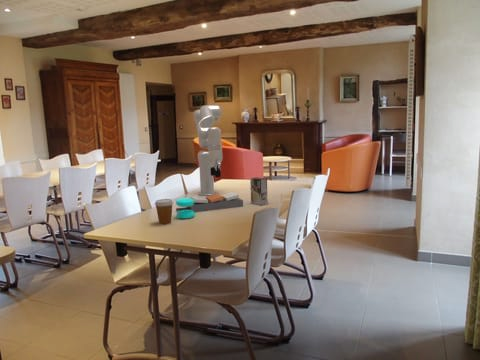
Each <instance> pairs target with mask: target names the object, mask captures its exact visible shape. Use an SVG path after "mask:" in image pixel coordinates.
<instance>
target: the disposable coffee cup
mask: <svg viewBox="0 0 480 360" xmlns="http://www.w3.org/2000/svg"><path fill="white" fill-rule="evenodd" d="M173 204H174V201H173V200H172V199H169V198H162V199H157V200H155V202H154V205H155V208H156V213H157V218H158V224H159V223H160V224H159V225H169V224H172V216H173V215H172V214H173V213H172V212H173Z"/></svg>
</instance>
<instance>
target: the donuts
mask: <svg viewBox="0 0 480 360" xmlns="http://www.w3.org/2000/svg"><path fill="white" fill-rule="evenodd" d="M175 204H176V205H177V206H178V207H179V208H184V207H188V206H191V205H193V204H194V200H193V199H191V197H190V198H188V197H184V198H179V199H176V202H175ZM195 214H196V212H194V211H192V210H181V211H177V213H176V216H177V218H179V219H183V220H184V219H186V220H188V219H191V218H194V217H195Z"/></svg>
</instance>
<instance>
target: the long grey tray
mask: <svg viewBox="0 0 480 360" xmlns="http://www.w3.org/2000/svg"><path fill="white" fill-rule="evenodd" d="M238 207H239V208H240V207H244V200H243V199H242V198H240V197H239V198H235V199H232V200H228V201H226V200H224V199H222V200H219V201H215V202H212V203H211V202H209V201H208V203H198V202H194V204H193V205H191V206H188V207H176V209H175V211H176V212H179V211H181V210H192V211H194V213H199V212H207V211H215V210H223V209H233V208H238Z"/></svg>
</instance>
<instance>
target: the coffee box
mask: <svg viewBox="0 0 480 360" xmlns="http://www.w3.org/2000/svg"><path fill="white" fill-rule="evenodd" d="M250 202H251V204H253V205H260V206H263V205H266V204H267V205H268V178H266V177H258V176H257V177H256V176H255V177H251V178H250Z"/></svg>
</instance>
